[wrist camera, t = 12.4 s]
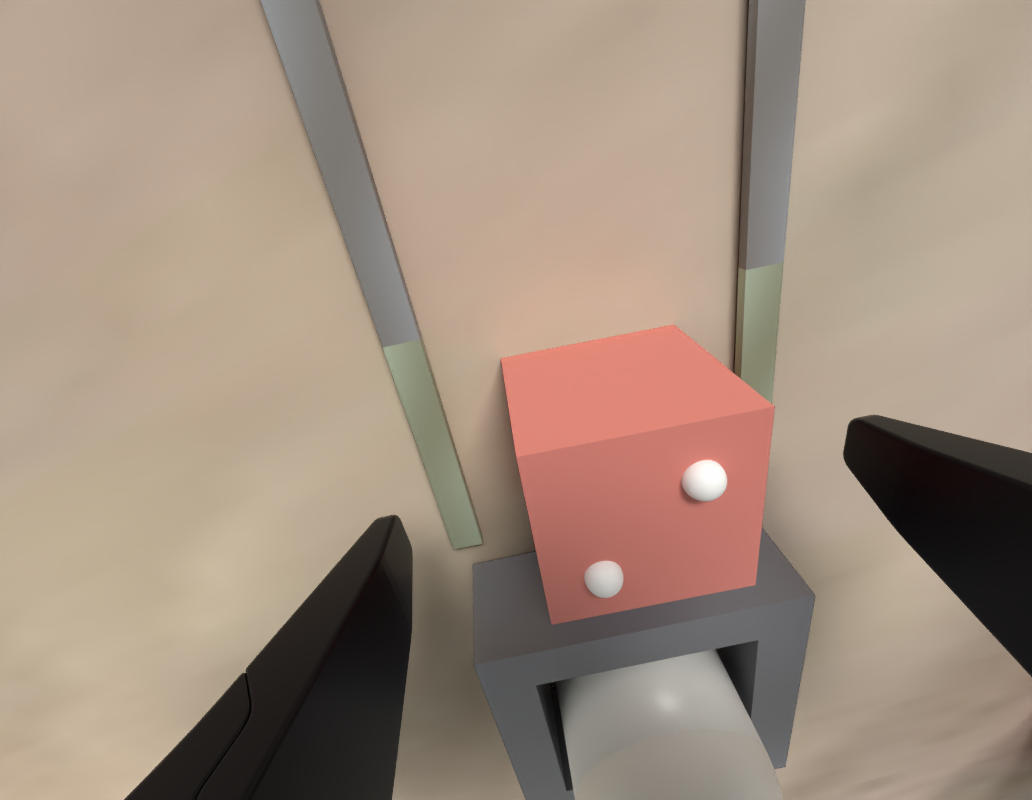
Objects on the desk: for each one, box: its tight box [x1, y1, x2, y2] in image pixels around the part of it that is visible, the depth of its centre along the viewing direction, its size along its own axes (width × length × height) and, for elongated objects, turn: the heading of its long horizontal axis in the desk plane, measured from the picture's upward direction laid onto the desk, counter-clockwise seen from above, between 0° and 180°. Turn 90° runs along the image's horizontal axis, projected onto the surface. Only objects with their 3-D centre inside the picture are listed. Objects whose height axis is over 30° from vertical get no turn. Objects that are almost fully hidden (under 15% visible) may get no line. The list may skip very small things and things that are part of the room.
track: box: [261, 0, 806, 549], centre depth 8 cm, size 9×18×1 cm, turn 11°
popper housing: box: [473, 528, 815, 800], centre depth 14 cm, size 8×8×3 cm
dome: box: [556, 649, 783, 800], centre depth 12 cm, size 5×5×6 cm
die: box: [501, 325, 775, 625], centre depth 10 cm, size 4×4×4 cm
